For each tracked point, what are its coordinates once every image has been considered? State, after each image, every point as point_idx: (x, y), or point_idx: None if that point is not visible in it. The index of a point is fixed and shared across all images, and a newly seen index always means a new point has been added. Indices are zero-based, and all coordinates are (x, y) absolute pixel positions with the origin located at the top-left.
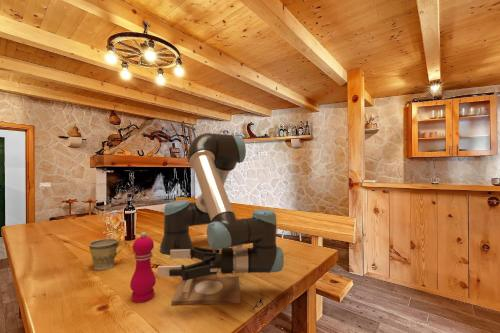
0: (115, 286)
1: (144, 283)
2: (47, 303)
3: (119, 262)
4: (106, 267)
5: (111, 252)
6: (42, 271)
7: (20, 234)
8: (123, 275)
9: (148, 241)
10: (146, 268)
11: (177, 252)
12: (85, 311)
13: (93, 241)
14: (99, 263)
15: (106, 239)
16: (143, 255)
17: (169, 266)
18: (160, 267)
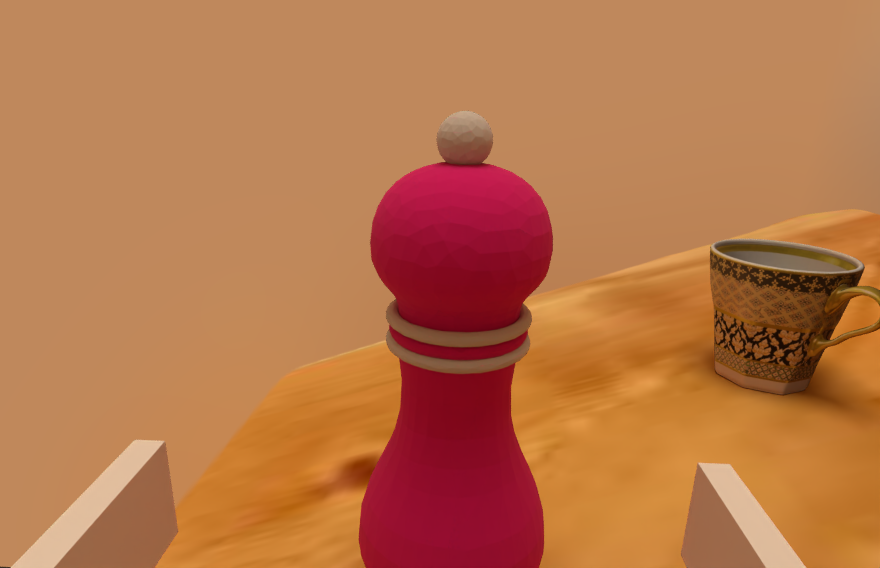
0: (575, 455)
1: (366, 522)
2: None
3: (845, 402)
4: (739, 377)
5: (772, 315)
6: (642, 290)
7: (839, 217)
8: (708, 451)
9: (415, 200)
10: (407, 433)
11: (737, 563)
12: (350, 432)
13: (765, 240)
14: (717, 341)
15: (832, 255)
16: (399, 313)
17: (61, 530)
18: (116, 460)
